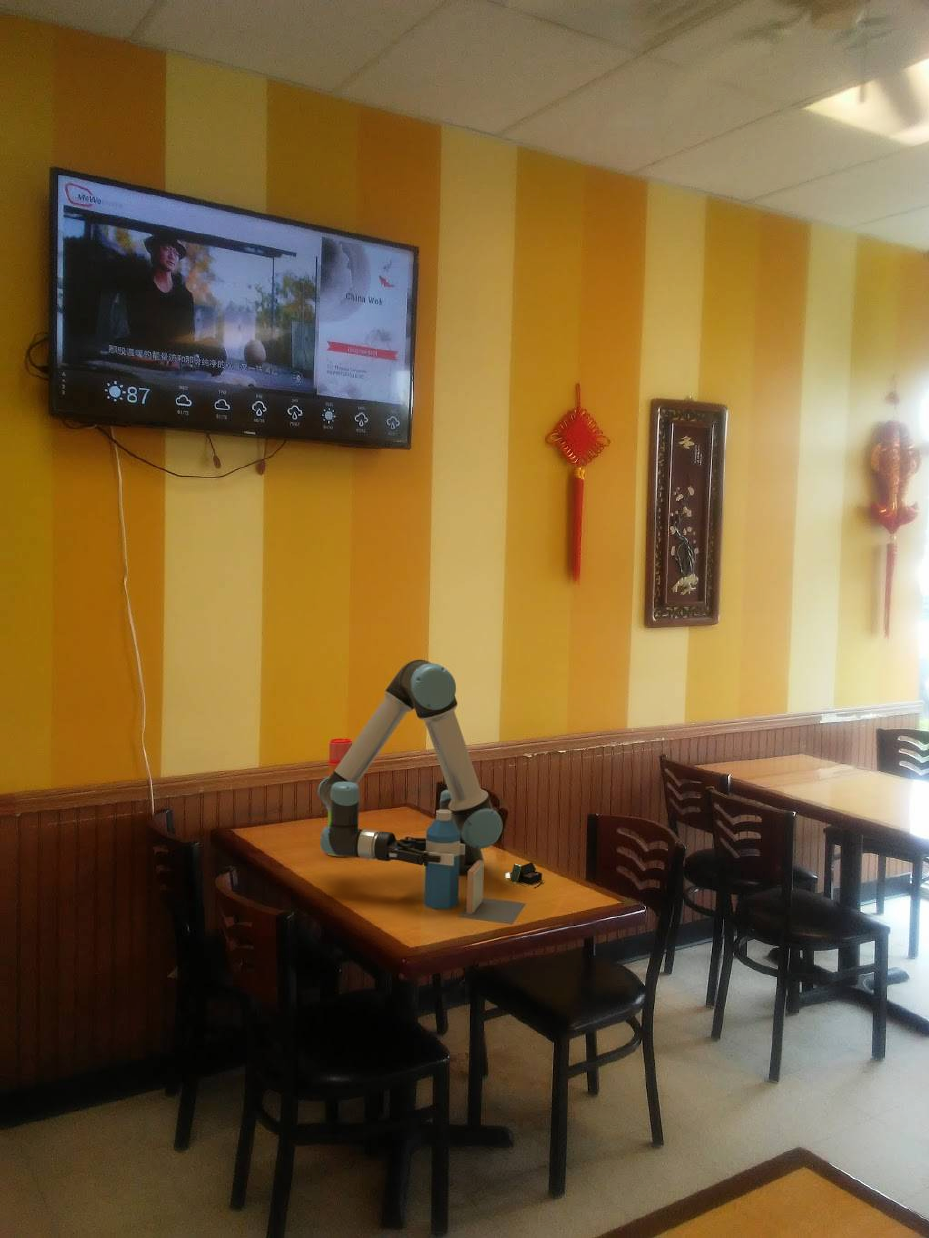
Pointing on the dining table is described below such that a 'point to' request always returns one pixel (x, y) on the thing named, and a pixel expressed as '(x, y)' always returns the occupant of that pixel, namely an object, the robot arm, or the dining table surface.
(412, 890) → the dining table surface
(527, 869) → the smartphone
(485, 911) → the mat
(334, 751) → the stacking cups
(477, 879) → the tile
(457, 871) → the water bottle
